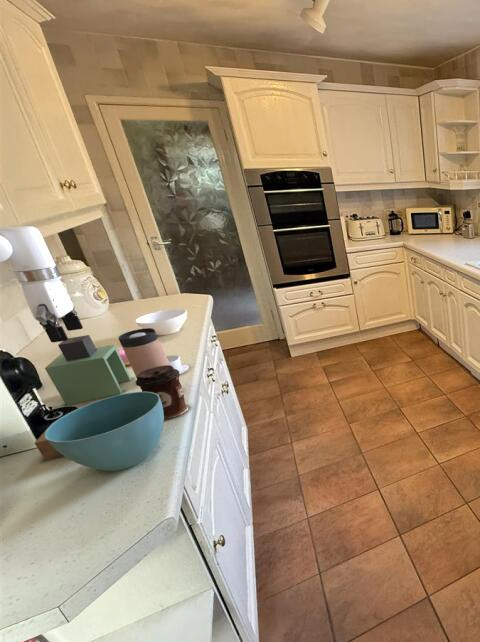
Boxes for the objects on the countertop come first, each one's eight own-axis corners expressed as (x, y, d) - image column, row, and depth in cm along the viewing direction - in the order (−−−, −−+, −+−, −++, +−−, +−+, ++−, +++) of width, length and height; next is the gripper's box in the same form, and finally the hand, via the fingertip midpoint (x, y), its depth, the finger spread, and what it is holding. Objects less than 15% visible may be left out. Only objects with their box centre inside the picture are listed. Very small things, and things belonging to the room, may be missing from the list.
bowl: (154, 327, 165) (147, 311, 162) (198, 322, 169) (193, 306, 166) (133, 342, 151) (126, 325, 148) (182, 336, 155) (176, 320, 152)
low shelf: (45, 460, 90) (34, 443, 88) (62, 438, 97) (52, 422, 95) (114, 443, 95) (104, 426, 93) (125, 423, 102) (117, 407, 100)
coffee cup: (175, 422, 102) (155, 379, 97) (144, 423, 102) (122, 379, 97) (200, 403, 110) (183, 362, 105) (171, 404, 110) (153, 363, 105)
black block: (66, 361, 110) (57, 345, 108) (74, 354, 114) (65, 338, 112) (90, 356, 112) (82, 340, 110) (97, 350, 116) (89, 334, 114)
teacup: (181, 363, 133) (176, 351, 131) (195, 370, 129) (190, 357, 127) (144, 376, 126) (138, 363, 124) (158, 384, 121) (152, 370, 119)
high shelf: (66, 405, 111) (44, 368, 106) (80, 389, 119) (60, 353, 114) (121, 393, 116) (103, 357, 111) (131, 378, 124) (114, 344, 119)
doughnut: (150, 362, 135) (145, 351, 133) (108, 370, 130) (102, 359, 128) (159, 350, 143) (154, 340, 142) (120, 357, 139) (115, 346, 137)
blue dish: (91, 500, 78) (61, 452, 74) (60, 470, 87) (31, 424, 82) (194, 447, 93) (174, 403, 88) (158, 425, 101) (139, 384, 96)
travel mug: (141, 401, 112) (110, 337, 104) (169, 387, 119) (142, 326, 110) (160, 405, 110) (130, 340, 102) (187, 391, 116) (161, 329, 108)
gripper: (35, 270, 108) (63, 328, 115) (-2, 284, 94) (33, 349, 101) (72, 267, 112) (97, 323, 118) (42, 280, 98) (73, 343, 104)
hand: (68, 335), depth 110 cm, fingers open, 9 cm apart
